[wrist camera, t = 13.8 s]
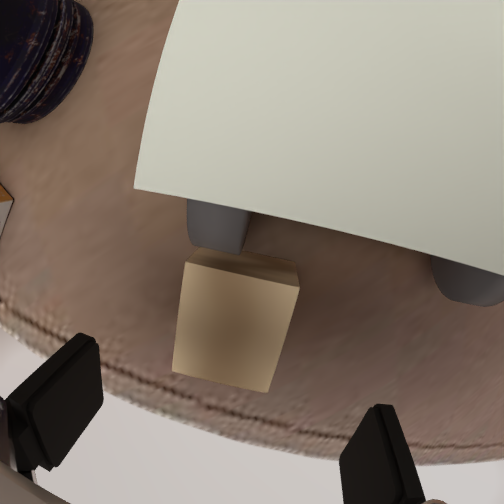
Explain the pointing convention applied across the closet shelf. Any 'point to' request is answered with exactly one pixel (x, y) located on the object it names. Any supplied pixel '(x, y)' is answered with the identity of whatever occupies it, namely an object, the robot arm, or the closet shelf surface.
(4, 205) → the small box
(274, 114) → the trolley
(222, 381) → the block
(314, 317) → the closet shelf surface
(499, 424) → the closet shelf surface
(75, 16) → the dark blue cylinder
